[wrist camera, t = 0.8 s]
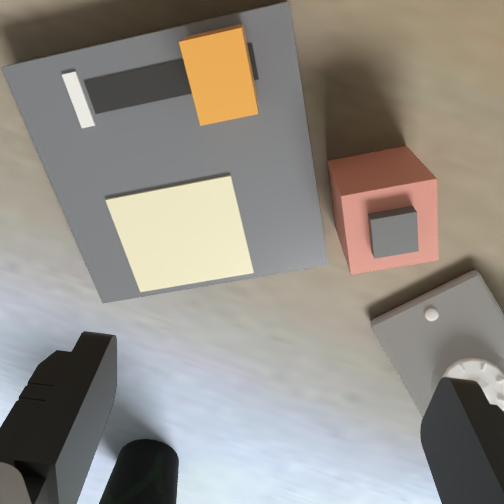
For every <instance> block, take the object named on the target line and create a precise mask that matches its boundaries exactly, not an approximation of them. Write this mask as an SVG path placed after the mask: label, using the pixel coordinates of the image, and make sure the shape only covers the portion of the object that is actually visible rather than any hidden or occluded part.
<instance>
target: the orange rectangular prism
mask: <svg viewBox="0 0 504 504" xmlns="http://www.w3.org/2000/svg"><path fill="white" fill-rule="evenodd" d="M179 45H180V48H181V52H182V56H183V60H184V64H185V68H186V72H187V76H188V80H189V84H190V87H191V91H192V95H193V99H194V103H195V107H196V111H197V115H198V119H199V123H200V126H203V125H207V124H212V123H217V122H222V121H227V120H232V119H237V118H241V117H246V116H251V115H256V114H258V97H257V92H256V87H255V82H254V76H253V71H252V66H251V61H250V56H249V51H248V45H247V40H246V35H245V30H244V25H243V24H239V25H234V26H230V27H225V28H221V29H217V30H212V31H208V32H203V33H199V34H195V35H190V36H187V37H185V38H184V39H182V40H181V41H179Z"/></svg>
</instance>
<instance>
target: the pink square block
mask: <svg viewBox="0 0 504 504" xmlns="http://www.w3.org/2000/svg"><path fill="white" fill-rule="evenodd" d="M327 164H328V172H329V179H330V187H331V194H332V202H333V209H334V217H335V224H336V230H337V233H338V237H339V240H340V243H341V246H342V249H343V252H344V255H345V258H346V261H347V265H348V268H349V271H350V274H351V275H352V274H358V273H364V272H370V271H376V270H382V269H388V268H395V267H401V266H407V265H413V264H419V263H425V262H431V261H437V260H439V258H438V208H437V178H436V177H435V176H434V175H433V174H432V173H431V172H430V171H429V170H428V169H427V168H426V166H425V165H424V164H423V163H422V162H421V161H420V160H419V159H418V158H417V157H416V156H415V155H414V154H413V153H412V152H411V151H410V149H409V148H408V147H407V146H402V147H397V148H392V149H386V150H381V151H376V152H371V153H365V154H360V155H355V156H350V157H345V158H339V159H334V160H329V161H327Z"/></svg>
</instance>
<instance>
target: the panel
mask: <svg viewBox="0 0 504 504" xmlns="http://www.w3.org/2000/svg"><path fill="white" fill-rule="evenodd" d="M239 24H243V25H244V30H245V35H246V40H247V45H248V51H249V56H250V61H251V66H252V71H253V76H254V82H255V87H256V92H257V97H258V114H256V115H251V116H246V117H241V118H237V119H232V120H227V121H222V122H217V123H212V124H207V125H203V126H200V123H199V119H198V115H197V111H196V107H195V103H194V99H193V95H192V91H191V87H190V84H189V80H188V76H187V72H186V68H185V64H184V60H183V56H182V52H181V48H180V45H179V41H181V40H182V39H184V38H185V37H187V36H190V35H195V34H199V33H203V32H208V31H212V30H217V29H221V28H225V27H230V26H234V25H239ZM1 69H2V71H3V74H4V76H5V78H6V81H7V83H8V85H9V88H10V90H11V92H12V95H13V97H14V99H15V101H16V104H17V106H18V108H19V111H20V113H21V115H22V118H23V120H24V122H25V125H26V127H27V129H28V132H29V134H30V136H31V139H32V141H33V143H34V145H35V148H36V150H37V152H38V155H39V157H40V159H41V162H42V164H43V166H44V169H45V171H46V173H47V176H48V178H49V180H50V183H51V185H52V187H53V189H54V192H55V194H56V196H57V199H58V201H59V203H60V206H61V208H62V210H63V213H64V215H65V217H66V220H67V222H68V224H69V227H70V229H71V231H72V234H73V236H74V238H75V240H76V243H77V245H78V247H79V250H80V252H81V254H82V257H83V259H84V261H85V264H86V266H87V268H88V271H89V273H90V275H91V278H92V280H93V282H94V284H95V287H96V289H97V291H98V294H99V296H100V298H101V301H102V303H108V302H114V301H119V300H125V299H131V298H137V297H143V296H149V295H155V294H161V293H167V292H173V291H179V290H185V289H191V288H197V287H203V286H209V285H215V284H220V283H226V282H232V281H238V280H244V279H250V278H256V277H262V276H268V275H274V274H280V273H286V272H292V271H298V270H304V269H310V268H315V267H321V266H327V265H328V260H327V253H326V246H325V239H324V233H323V226H322V219H321V213H320V206H319V199H318V192H317V186H316V179H315V172H314V166H313V159H312V152H311V145H310V139H309V132H308V125H307V119H306V112H305V105H304V98H303V92H302V85H301V78H300V71H299V65H298V58H297V51H296V45H295V38H294V31H293V24H292V18H291V11H290V4H289V1H283V2H279V3H275V4H270V5H266V6H262V7H257V8H253V9H248V10H244V11H240V12H235V13H231V14H227V15H222V16H218V17H214V18H209V19H205V20H201V21H196V22H192V23H188V24H183V25H179V26H175V27H170V28H166V29H161V30H157V31H153V32H148V33H144V34H140V35H135V36H131V37H127V38H122V39H118V40H114V41H109V42H105V43H101V44H96V45H92V46H88V47H83V48H79V49H75V50H70V51H66V52H61V53H57V54H53V55H48V56H44V57H40V58H35V59H31V60H27V61H22V62H18V63H15V64H11V65H8V66H5V67H2V68H1Z"/></svg>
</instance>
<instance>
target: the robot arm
mask: <svg viewBox="0 0 504 504" xmlns="http://www.w3.org/2000/svg"><path fill="white" fill-rule="evenodd" d="M116 386H117V339H116V336H115V335H110V334H102V333H94V332H86V331H85V332H83V333H82V334H81V336H80V337H79V339H78V341H77V343H76V345H75V347H74V349H73V350H72V352H67V351H59V350H57V351H55V352H54V353H53V354H51V355H50V356H49V357H48V358H46V359H45V360H44V361H43V362H41V363H40V364H39V365H38V366H37V368H36V370H35V371H34V373H33V375H32V376H31V378H30V380H29V381H28V385H27V386H25V388H24V390H23V391H22V393H21V394H20V396H19V400H18V401H16V403H15V404H14V406H13V408H12V409H11V411H10V413H9V414H8V416H7V418H6V419H5V421H4V422H3V424H2V426H1V427H0V504H77V501H78V498H79V496H80V493H81V490H82V487H83V485H84V482H85V479H86V477H87V474H88V471H89V469H90V466H91V463H92V460H93V458H94V455H95V452H96V450H97V447H98V444H99V441H100V439H101V436H102V433H103V431H104V428H105V425H106V422H107V420H108V417H109V414H110V412H111V409H112V406H113V402H114V398H115V393H116ZM421 443H422V446H423V450H424V452H425V455H426V458H427V461H428V464H429V467H430V470H431V473H432V476H433V479H434V482H435V485H436V488H437V491H438V494H439V497H440V499H441V502H442V504H504V411H503V410H502V409H501V408H500V407H499V406H498V405H494V404H490V403H489V401H488V399H487V398H486V396H485V394H484V392H483V390H482V388H481V386H480V385H479V384H478V382H476V381H474V380H466V379H458V378H450V377H443V378H442V379H441V380H440V381H439V383H438V385H437V387H436V389H435V392H434V394H433V396H432V399H431V401H430V403H429V405H428V408H427V410H426V412H425V414H424V417H423V419H422V423H421Z"/></svg>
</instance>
